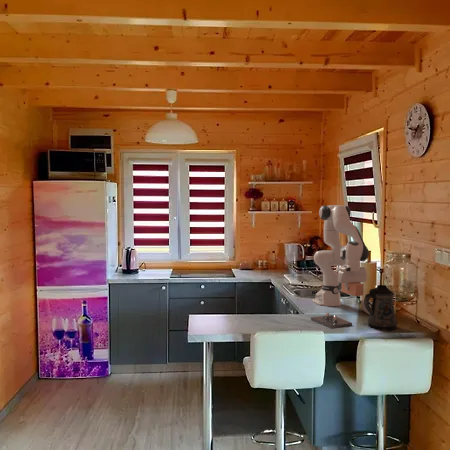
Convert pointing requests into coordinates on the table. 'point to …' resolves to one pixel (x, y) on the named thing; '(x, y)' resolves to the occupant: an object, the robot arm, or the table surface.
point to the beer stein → (381, 309)
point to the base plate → (331, 321)
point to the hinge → (364, 306)
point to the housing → (353, 289)
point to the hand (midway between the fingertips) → (352, 289)
